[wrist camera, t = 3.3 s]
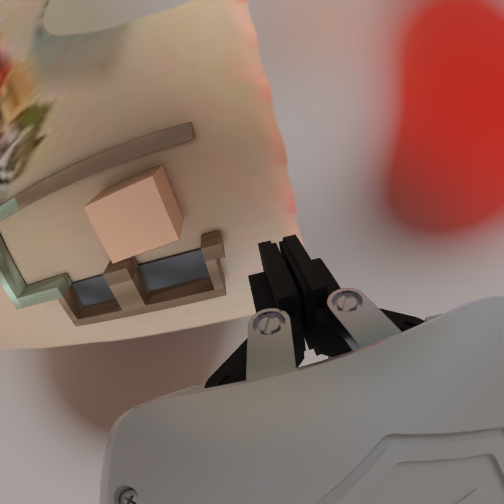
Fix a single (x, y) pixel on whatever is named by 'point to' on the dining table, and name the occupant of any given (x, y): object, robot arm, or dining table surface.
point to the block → (136, 215)
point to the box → (125, 271)
